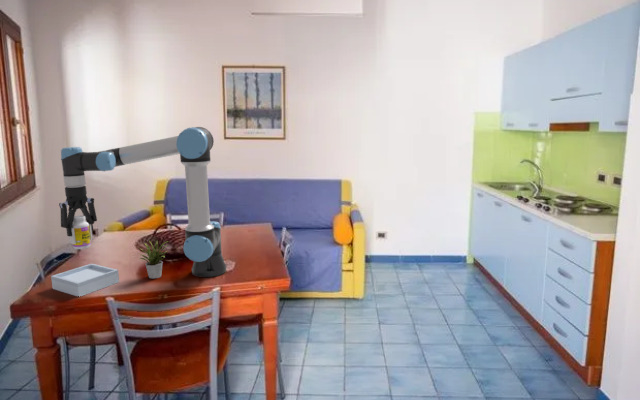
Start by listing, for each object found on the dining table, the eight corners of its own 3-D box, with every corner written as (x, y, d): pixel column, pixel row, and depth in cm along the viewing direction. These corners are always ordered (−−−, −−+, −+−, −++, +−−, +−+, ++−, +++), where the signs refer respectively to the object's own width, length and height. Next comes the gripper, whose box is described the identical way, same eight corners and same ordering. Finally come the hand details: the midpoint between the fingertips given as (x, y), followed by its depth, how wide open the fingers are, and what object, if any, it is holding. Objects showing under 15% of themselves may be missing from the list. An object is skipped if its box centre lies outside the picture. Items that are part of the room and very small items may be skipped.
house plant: (181, 272, 205) (178, 237, 202) (164, 283, 192) (161, 245, 189) (152, 269, 208) (150, 235, 205) (134, 280, 195) (131, 243, 192)
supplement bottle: (83, 249, 183) (79, 218, 181) (69, 249, 185) (65, 218, 182) (94, 245, 190) (91, 215, 187) (80, 244, 191) (77, 214, 189)
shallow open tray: (119, 282, 194) (118, 269, 193) (79, 296, 178) (77, 283, 177) (92, 275, 202) (91, 263, 201) (52, 288, 187) (50, 276, 186)
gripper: (91, 182, 193) (97, 234, 197) (45, 188, 176) (52, 246, 180) (103, 183, 189) (108, 236, 193) (56, 190, 172) (63, 248, 177)
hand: (81, 241), depth 187 cm, fingers closed on supplement bottle, 7 cm apart
